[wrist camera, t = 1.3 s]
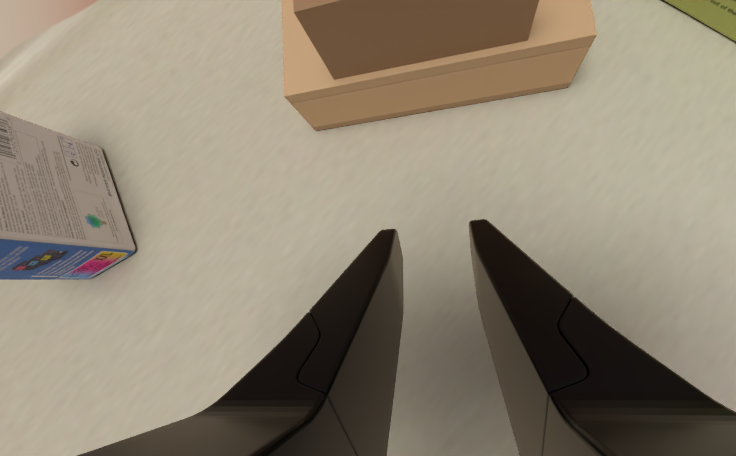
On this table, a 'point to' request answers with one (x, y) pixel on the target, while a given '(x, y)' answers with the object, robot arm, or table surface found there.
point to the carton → (445, 90)
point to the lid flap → (417, 39)
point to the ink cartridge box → (56, 206)
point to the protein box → (711, 13)
